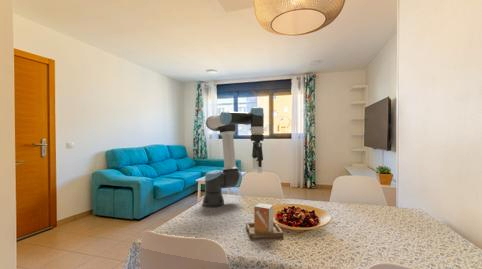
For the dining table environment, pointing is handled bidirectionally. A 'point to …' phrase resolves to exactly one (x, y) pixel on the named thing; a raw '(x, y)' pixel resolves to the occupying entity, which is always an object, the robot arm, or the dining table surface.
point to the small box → (263, 218)
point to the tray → (256, 235)
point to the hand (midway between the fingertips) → (257, 170)
